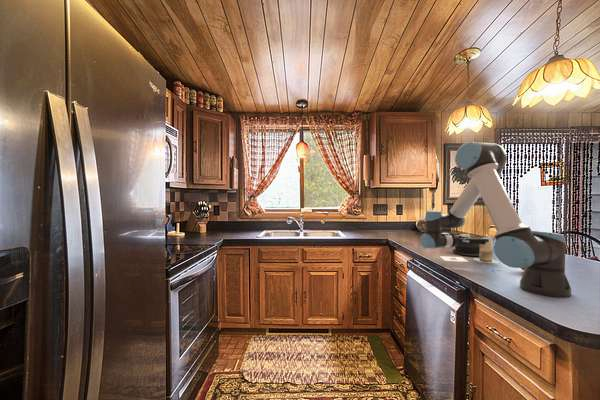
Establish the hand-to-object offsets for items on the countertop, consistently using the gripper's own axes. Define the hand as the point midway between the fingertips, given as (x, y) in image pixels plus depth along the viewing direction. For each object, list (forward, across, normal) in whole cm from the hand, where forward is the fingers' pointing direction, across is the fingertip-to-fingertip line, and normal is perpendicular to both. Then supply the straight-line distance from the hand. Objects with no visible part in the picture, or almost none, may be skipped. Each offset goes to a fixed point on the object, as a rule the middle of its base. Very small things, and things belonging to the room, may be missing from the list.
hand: (480, 238), depth 154 cm
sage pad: (+4, 0, -14) cm, 14 cm away
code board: (-9, -9, -14) cm, 19 cm away
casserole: (+13, -20, -14) cm, 27 cm away
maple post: (+4, 0, -13) cm, 14 cm away
